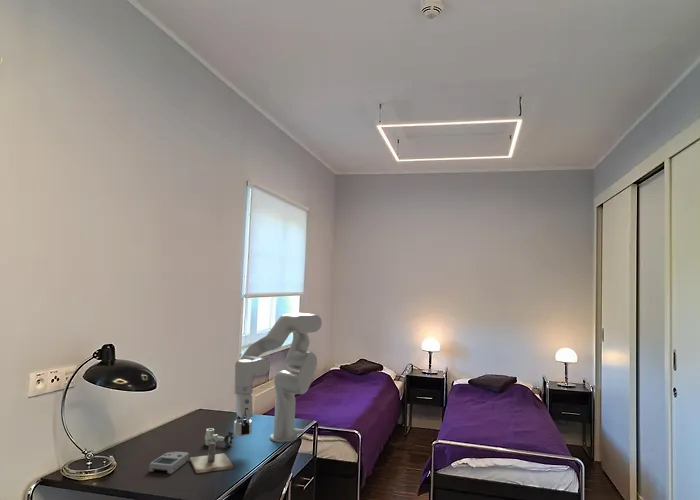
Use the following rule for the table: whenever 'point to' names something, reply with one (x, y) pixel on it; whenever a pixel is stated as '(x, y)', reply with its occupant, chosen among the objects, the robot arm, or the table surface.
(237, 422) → the hub
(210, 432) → the valve
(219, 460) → the shaft stand
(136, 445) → the table surface
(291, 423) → the robot arm
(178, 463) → the handheld gaming device
